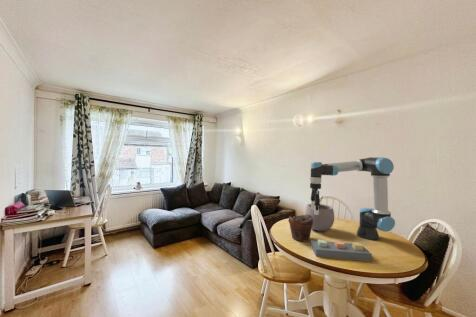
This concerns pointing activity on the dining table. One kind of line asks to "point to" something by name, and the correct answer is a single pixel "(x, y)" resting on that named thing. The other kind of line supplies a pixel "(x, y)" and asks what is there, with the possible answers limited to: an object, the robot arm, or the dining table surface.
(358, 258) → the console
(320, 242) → the sage button
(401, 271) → the dining table surface
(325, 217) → the plant pot
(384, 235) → the dining table surface
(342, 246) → the terracotta button
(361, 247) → the ochre button
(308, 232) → the brown tapered container
